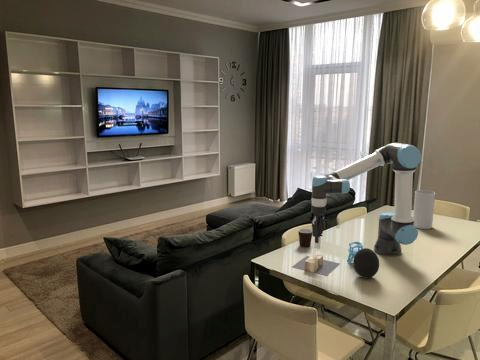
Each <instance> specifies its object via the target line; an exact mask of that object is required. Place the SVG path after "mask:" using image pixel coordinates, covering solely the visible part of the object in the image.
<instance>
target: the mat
mask: <svg viewBox="0 0 480 360" xmlns="http://www.w3.org/2000/svg"><path fill="white" fill-rule="evenodd" d="M310 257H311V256H310V255H306V256H305V257H303V258H302V259H301V260H299V261H298V262H296V263H295V264H294V265H292V266H291V268H292V269H297V270H301V271H304V272H308V273H312V274H317V275H320V276H325V277H328V276H329V275H330V274H331V273H332V272H334V271H335V270H336V268H338V267H339V266H340V265H341V263H339V262H335V261H331V260H327V259H323V265H322V266H320V267H319V268H318V269H317V270H316V271H314V272H310V271H306V270H305V261H306V260H307V259H308V258H310Z"/></svg>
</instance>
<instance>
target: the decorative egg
mask: <svg viewBox="0 0 480 360" xmlns="http://www.w3.org/2000/svg"><path fill="white" fill-rule="evenodd" d="M352 263H353V264H352V265H353V268H354V271H355V272H356V274H357V275H358V276H359V277H361V278H363V279H370V278H373V277H374V276H375V275H377V273H378V271H379V268H380V259H379V257H378V255H377V252H375V251H374V250H373V249H371V248H367V247H365V248H364V247H363V249H361V248H360V250H359V251H358V252H357V253H356V254H355V256H354V259H353V261H352Z"/></svg>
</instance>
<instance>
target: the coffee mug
mask: <svg viewBox="0 0 480 360" xmlns="http://www.w3.org/2000/svg"><path fill="white" fill-rule="evenodd" d="M297 231H298V241H299V247H302V248H310V247H311V243H312V238H313V232H312V228H311V229H310V228H300V229H299V228H298V230H297Z"/></svg>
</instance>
